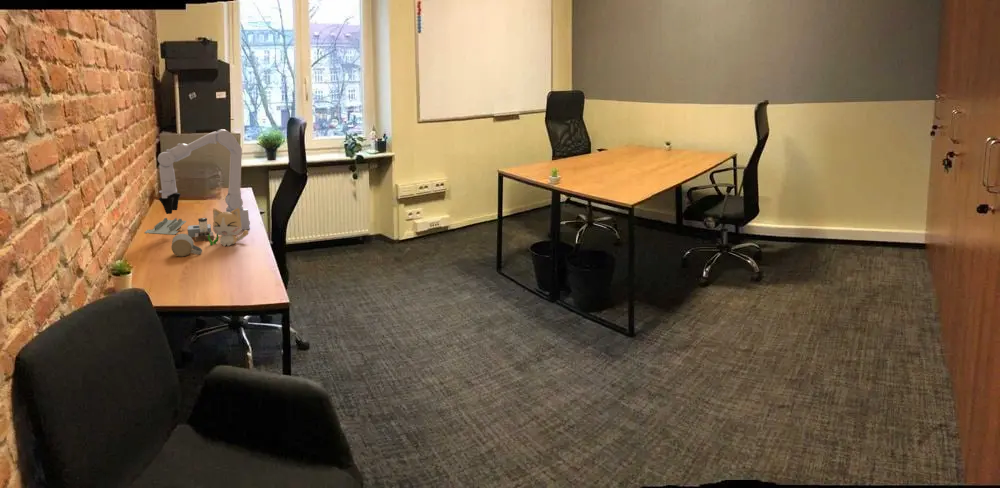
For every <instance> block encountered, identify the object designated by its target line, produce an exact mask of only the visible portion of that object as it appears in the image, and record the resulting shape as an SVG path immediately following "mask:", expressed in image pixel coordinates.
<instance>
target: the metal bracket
mask: <svg viewBox="0 0 1000 488" xmlns="http://www.w3.org/2000/svg"><path fill="white" fill-rule="evenodd" d="M185 223H187V220H182V218H178V220H177V217H175V218H173V219H168V218H167V217H164V218H163V220H162V221H159V222H158V223H157V224H155V225H154V226H153V229H147V230H145V231H144V234H147V233H149V234H150V235H151V234H152V235H155V234H156V235H169V236H176V235H178V234H179V231H178V230H179V229H182V226H184V225H185Z"/></svg>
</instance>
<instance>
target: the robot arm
mask: <svg viewBox="0 0 1000 488" xmlns="http://www.w3.org/2000/svg"><path fill="white" fill-rule="evenodd" d="M218 143H219V144H220V145H221V146H223V147H225V148H226V149H227V150H228V151H229V153H230V155H229V172H228V173H229V174H228V176H229V177H228V188H227V189H228V190H227V195H226V196H225V201H224V202H225V203H226V205H227V207H226V208H225V212H232V211H233V210H235V209H237V208H239V209H240V217H241V231H243V230H250V225H251V221H250V219H249V218H250V217H249V209H248V208H244V207H243V204H244V202H243V199H242V192H241V177H242V157H243V149H242V146H241V145H240V143H239V142H238V141H237V138H236V137H235V135H233V134H232V133H231V132H230V131H229V130H226V129H223V128H221V129H218V130H217V131H216V130H215V131H212V132H210V133H207V134H205V135H202V136H201V137H198V138H197V139H195V140H194V141H192V142H190V143H188V144H187V143H183V142H182V143H180V142H179V143H177V144H176V146H174V147H172V148H170V149H169V148H167V149H165V151H163V152H160V153H159V154H158V156H157V162H158V163H159V166H158V168H159V177H160V186H161V190H159V191H158V193H159V194H161V197H159V198H158V200H159V202H160V203H161V205H162V207H163V210H164V212H165V213H166V215H168V214H169V215H171V214H173V211H177V210H178V207H179V200H180V197H181V193H180V192H178V188H177V183H176V182H177V181H176V174H175V172H176V171H175V169H174V162H175V163H177V162H180V160H181V161H182V160H184V159H185V158H188V157H191V155H192V151H195V150H197V149H200V148H202V147H204V146H206V145H208V144H211V145H212V144H214V145H215V144H216V145H217V144H218Z"/></svg>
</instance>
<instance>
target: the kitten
mask: <svg viewBox="0 0 1000 488" xmlns="http://www.w3.org/2000/svg"><path fill="white" fill-rule="evenodd" d="M212 209H213V210H212V217H213V218H212V219H213V223H212V225H213V226H212V232H213V233H215V234H216V238H215V239H213V240H211V239H210V233H209V235H208V240H207V241H208V242H209V246H213V245H217V242H218V241H219V243H220V244H221V245H222V246H223V247H226V246H227V247H230V246H232V245H235V244H236V243H237V242H238V241H241V240H243V238H245V237H246V236H248V234H249V230H248V229H245V230H244V231H243V230H241V217H240V209H239V208H237V209H235V210H233V211H232V212H226V211H221V210H218V209H216V208H212ZM241 231H243V232H242V233H241ZM240 233H241V235H239V236H236V235H238V234H240ZM219 236H220V237H219Z"/></svg>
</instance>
